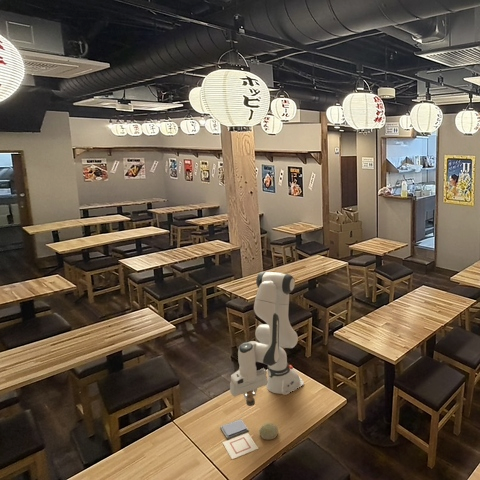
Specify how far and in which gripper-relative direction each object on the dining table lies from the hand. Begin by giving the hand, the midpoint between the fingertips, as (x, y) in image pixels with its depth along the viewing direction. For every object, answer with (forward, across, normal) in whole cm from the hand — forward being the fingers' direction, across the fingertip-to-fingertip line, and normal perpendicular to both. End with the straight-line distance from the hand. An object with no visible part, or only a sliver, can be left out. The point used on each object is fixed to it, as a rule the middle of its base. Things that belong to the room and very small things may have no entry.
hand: (250, 396), depth 208 cm
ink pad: (+15, +11, +1) cm, 19 cm away
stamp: (+4, 0, 0) cm, 4 cm away
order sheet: (+15, +13, +12) cm, 23 cm away
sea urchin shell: (+16, -3, +12) cm, 20 cm away
